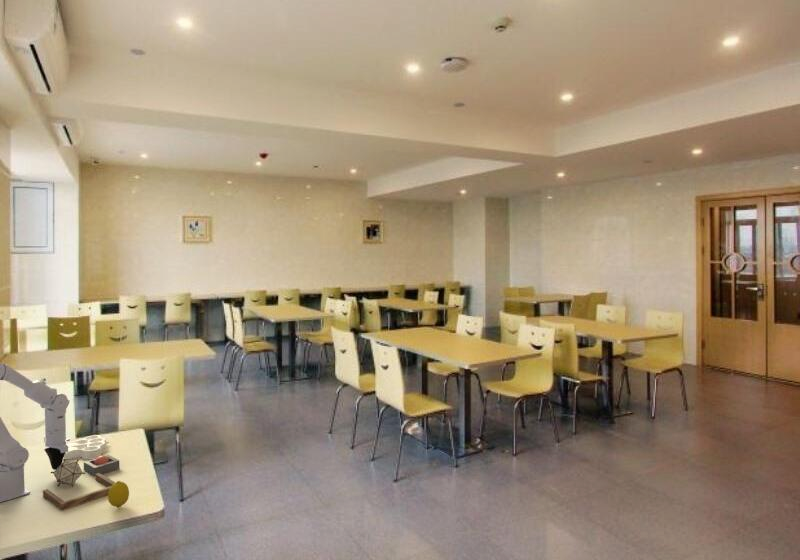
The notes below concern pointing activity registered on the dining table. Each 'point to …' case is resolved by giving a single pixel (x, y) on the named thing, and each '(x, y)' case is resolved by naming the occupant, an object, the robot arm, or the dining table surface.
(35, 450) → the dining table surface
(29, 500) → the dining table surface
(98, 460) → the salmon ball
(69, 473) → the game die
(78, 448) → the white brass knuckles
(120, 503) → the lemon
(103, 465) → the dome housing
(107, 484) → the brown wooden u shape
